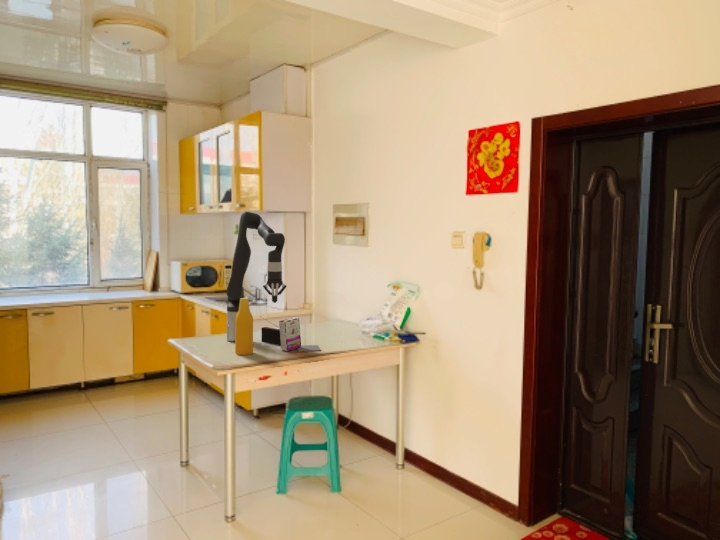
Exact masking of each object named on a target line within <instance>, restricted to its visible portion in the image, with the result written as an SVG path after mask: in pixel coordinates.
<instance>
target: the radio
mask: <svg viewBox="0 0 720 540" xmlns="http://www.w3.org/2000/svg"><path fill="white" fill-rule="evenodd" d="M259 317H260V318H262V319H264V320H265V321H267V322H268V323H270V324H272V325H273V326H275V327H276V328H275V327H268V326H264V327H261V343H266V344H270V345H271V344H272V345H275V346H280V347H281V339H280V327H279V326H277V325H276V324H274V323H272V322H271V321H268V320H267V319H265V318H264V317H263V316H261V315H260V316H259Z"/></svg>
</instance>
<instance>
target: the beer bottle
mask: <svg viewBox="0 0 720 540" xmlns="http://www.w3.org/2000/svg"><path fill="white" fill-rule="evenodd" d="M234 342H235V346H234V351H235V352H234V353H235V354H236V355H238V356H248V355H251V354H252V355H253V353H254V316H253V315H252V312H251V310H250V302H249V298H248V297H244V298H240V304H239V311H238V313H237V315H236V319H235V341H234Z"/></svg>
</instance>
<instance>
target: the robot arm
mask: <svg viewBox="0 0 720 540" xmlns="http://www.w3.org/2000/svg"><path fill="white" fill-rule="evenodd" d="M238 223H239V224H238V232H237V233H238V234H237V239H236V243H235V244H236V245H235V249H234V254H233V258H232V259H233V260H232V266H231V273H230V279H229V280H228V281H229V282H228V284H227V287H226V296H227V306H226V342H235V319H236V315H237V313H238V311H239V304H240V298H245V296H244V295H245V294H244V293H245V292H244V287H243V285H244V284H243V283H244V278H245V275H246V273H247V270H248V267H249V263H250V260H251V255H252V254H251V253H252V249H251V247H250V244H249V241H248V236H247V232H248V229H250V230H257V234H258V235H259V237H260V238H262V239H263V240H264V243H265V245H266V246H268V247H275V248H274V250H270V251H269V252H268V253H267V281H266V283H265V284H264V285H262V288H263V289H264V290H265V292H267V294H268V295H269V296H271V301H272V303H273V304H275V303H277V302H278V296H279V295H282V293H283V292H284V291H285V289H286V288H287V285H286V284H284V281H283V265H282V253H283V250H284V247H285V243H286V239H285V235H284V234H283V233H281V232H275V231H274V229H273V228H271V227H270V226H269V225H268V224H267V223H266V222H265V220H263V218H262V216H260V215H259V214H257V213H256V212H250V211H245V210H244V211H243V212H241V215H240V217H239V222H238ZM269 288H270V290H271V291H270V290H269ZM279 289H280V290H279Z"/></svg>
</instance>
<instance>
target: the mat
mask: <svg viewBox="0 0 720 540" xmlns="http://www.w3.org/2000/svg"><path fill="white" fill-rule="evenodd" d="M296 349H297V352H299V353H300V352H301V353H302V351H308V352H322V349H321V347H320V346H319V345H318V344H311V345H309V344H308V345H301V347H299V348H296Z"/></svg>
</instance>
